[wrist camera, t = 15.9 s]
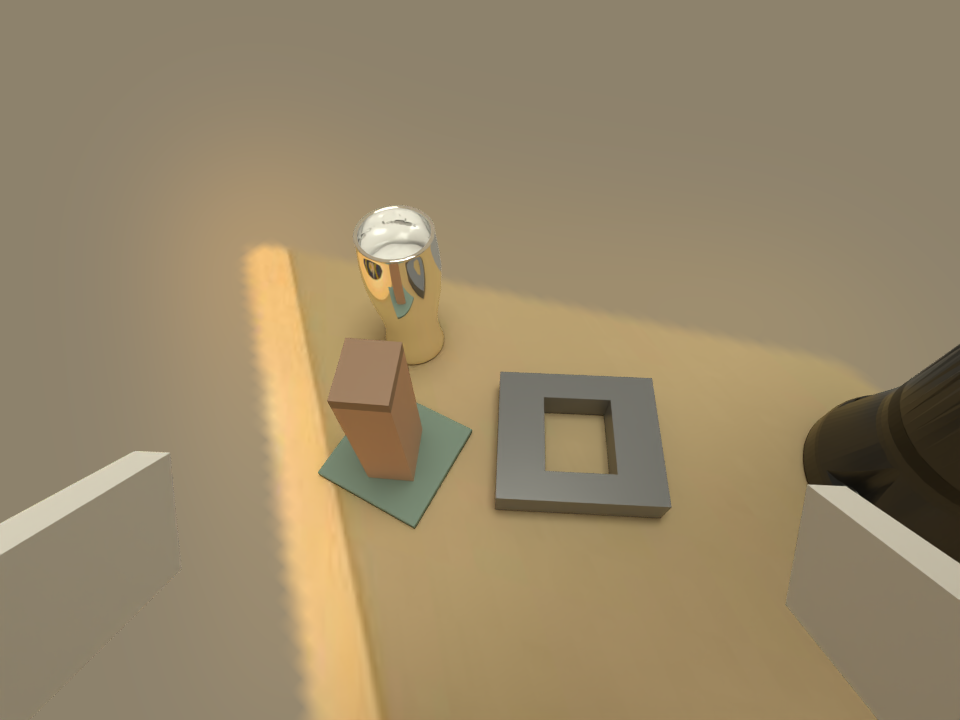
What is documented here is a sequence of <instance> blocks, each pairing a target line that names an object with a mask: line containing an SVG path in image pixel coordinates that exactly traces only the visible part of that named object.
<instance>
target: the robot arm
mask: <svg viewBox="0 0 960 720" xmlns="http://www.w3.org/2000/svg"><path fill="white" fill-rule="evenodd" d="M804 467H805V472H806V476H807V480H808V482H809V485H808V484H807V489H806V494H805V500H804V505H803V511H802V516H801V522H800V527H799V533H798V538H797V544H796V549H795V555H794V560H793V566H792V571H791V577H790V582H789V588H788V593H787V599H786V604H785V605H786V606H787V607H788V608H789V610H790V611H791V612H792V613H793V615H794V616H795V617H796V618H797V620H798V621H799V622H800V623H801V625H802V626H803V627H804V628H805V630H806V631H807V632H808V633H809V635H810V636H811V637H812V638H813V639H814V641H815V642H816V643H817V644H818V646H819V647H820V648H821V649H822V651H823V652H824V653H825V654H826V656H827V657H828V658H829V659H830V661H831V662H832V663H833V664H834V666H835V667H836V668H837V669H838V671H839V672H840V673H841V674H842V676H843V677H844V678H845V679H846V680H847V682H848V683H849V684H850V685H851V687H852V688H853V689H854V690H855V692H856V693H857V694H858V695H859V697H860V698H861V699H862V700H863V702H864V703H865V704H866V705H867V707H868V708H869V709H870V710H871V712H872V713H873V714H874V715H875V717H876V718H877V719H878V720H960V344H959V345H958V346H956V347H955V348H953V349H952V350H951V351H949V352H948V353H946V354H945V355H944V356H942V357H941V358H939V359H938V360H937V361H935V362H934V363H932V364H931V365H930V366H928V367H927V368H925V369H924V370H922V371H921V372H920V373H918V374H917V375H915V376H914V377H913V378H911V379H910V380H909V381H907V382H906V383H904V384H903V385H902V386H900V387H897V388H894V389H891V390H888V391H884V392H881V393H878V394H875V395H869V396H862V397H858V398H854V399H851V400H848V401H846V402H844V403H842V404H840V405H838V406H836V407H835V408H833V409H832V410H831V411H830V412H828V413H827V414H826V415H825V416H823V417H822V418H821V419H820V420H819V421H818V422H817V423H816V424H815V425H814V426H813V427H812V429H811V430H810V432H809V434H808V436H807V439H806V442H805V447H804ZM181 570H182V569H181V559H180V548H179V538H178V528H177V519H176V508H175V498H174V487H173V477H172V467H171V457H170V453H165V452H145V451H134V452H132V453H130V454H128V455H126V456H124V457H123V458H121V459H119V460H117V461H115V462H113V463H112V464H110V465H108V466H106V467H104V468H102V469H100V470H98V471H97V472H95V473H93V474H91V475H89V476H87V477H86V478H84V479H82V480H80V481H78V482H76V483H74V484H73V485H71V486H69V487H67V488H65V489H63V490H61V491H59V492H58V493H56V494H54V495H52V496H50V497H48V498H46V499H45V500H43V501H41V502H39V503H37V504H35V505H33V506H32V507H30V508H28V509H26V510H24V511H23V512H21V513H19V514H17V515H15V516H13V517H11V518H9V519H8V520H6V521H4V522H2V523H0V720H30V719H31V718H32V717H33V716H34V715H35V714H36V713H37V712H38V711H39V710H40V709H41V708H42V707H43V706H44V705H45V704H46V703H47V702H48V701H49V700H50V699H51V698H52V697H53V696H54V695H55V694H56V693H57V692H58V691H59V690H60V689H61V688H62V687H63V686H64V685H65V684H66V683H67V682H68V681H69V680H70V679H71V678H72V677H73V676H74V675H76V674H77V673H78V672H79V671H80V670H81V669H82V668H83V667H84V666H85V665H86V664H87V663H88V662H89V661H90V660H91V659H92V657H94V656H95V654H97V653H98V652H99V651H100V650H101V649H102V648H103V647H104V646H105V645H106V644H107V643H108V642H109V641H110V640H111V639H112V638H113V637H114V636H115V635H116V634H117V633H118V632H119V631H120V630H121V629H122V628H123V627H124V626H125V625H126V624H127V623H128V622H129V621H130V620H131V619H132V618H133V617H134V616H135V615H136V614H137V613H138V612H139V611H140V610H141V609H142V608H143V607H144V606H145V605H146V604H147V603H148V602H149V601H150V600H151V599H152V598H153V597H154V596H155V595H156V594H158V593H159V591H160V590H162V588H163V587H165V586H166V585H167V584H168V583H169V582H170V581H171V580H172V579H173V578H174V577H175V576H176V574H178V573H179V572H180V571H181Z"/></svg>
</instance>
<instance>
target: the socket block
mask: <svg viewBox="0 0 960 720" xmlns="http://www.w3.org/2000/svg"><path fill="white" fill-rule="evenodd" d="M544 413H566V414H588V415H604V420H605V432H606V443H607V454H608V466H609V474H594V473H574V472H554V471H545V435H544ZM670 508H671V501H670V494H669V488H668V481H667V475H666V468H665V461H664V455H663V448H662V442H661V435H660V428H659V422H658V415H657V409H656V402H655V395H654V389H653V382H652V378H634V377H611V376H587V375H564V374H541V373H518V372H501V374H500V395H499V421H498V447H497V473H496V499H495V509H498V510H517V511H536V512H555V513H574V514H593V515H612V516H631V517H650V518H661V517H662V516H663V515H664V514H665V513H666V512H667V511H668V510H669V509H670Z"/></svg>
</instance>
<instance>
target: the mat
mask: <svg viewBox="0 0 960 720" xmlns="http://www.w3.org/2000/svg"><path fill="white" fill-rule="evenodd" d="M416 404H417V408H418V412H419V417H420V421H421V425H422V435H421V441H420V447H419V453H418V459H417V465H416V471H415V477H414V481H405V480H394V479H382V478H370V477H368V475H367V474H366V472H365V470H364V468H363V466H362V464H361V462H360V461H359V459H358V457H357V455H356V453H355V451H354V449H353V448H352V446H351V444H350V442H349V440H348V438H347V436H346V435H345V436H344V438H343V439H342V440H341V442H340V443H339V444H338V446H337V447H336V449H335V450H334V451H333V453H332V454H331V455H330V457H329V458H328V459H327V461H326V462H325V463H324V465H323V466H322V468H321V469H320V470H319V472H318V473H319V475H321V476H322V477H324V478H326V479H328V480H330V481H331V482H333V483H335V484H337V485H338V486H340V487H342V488H344V489H345V490H347V491H349V492H351V493H353V494H354V495H356V496H358V497H360V498H361V499H363V500H365V501H367V502H369V503H370V504H372V505H374V506H376V507H377V508H379V509H381V510H383V511H384V512H386V513H388V514H390V515H392V516H393V517H395V518H397V519H399V520H400V521H402V522H404V523H406V524H408V525H409V526H411V527H413V528H416V526H417V524H418V523H419V521H420V519H421V518H422V516H423V514H424V513H425V511H426V509H427V508H428V506H429V504H430V502H431V501H432V499H433V497H434V496H435V494H436V492H437V491H438V489H439V487H440V486H441V484H442V482H443V481H444V479H445V477H446V475H447V474H448V472H449V470H450V469H451V467H452V465H453V464H454V462H455V460H456V459H457V457H458V455H459V453H460V452H461V450H462V448H463V447H464V445H465V443H466V442H467V440H468V438H469V437H470V435H471V433H472V429H470V428H468V427H466V426H464V425H462V424H460V423H457V422H455V421H453V420H451V419H449V418H447V417H445V416H443V415H441V414H439V413H437V412H435V411H433V410H431V409H429V408H427V407H425V406H423V405H421V404H418V403H416Z"/></svg>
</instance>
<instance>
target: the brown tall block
mask: <svg viewBox="0 0 960 720" xmlns="http://www.w3.org/2000/svg"><path fill="white" fill-rule="evenodd" d="M327 401H328V403H329V405H330V407H331V409H332V411H333V412H334V414H335V416H336V418H337V420H338V422H339V424H340V425H341V427H342V429H343V431H344V433H345V435H346V436H347V438H348V440H349V442H350V444H351V446H352V448H353V449H354V451H355V453H356V455H357V457H358V459H359V461H360V462H361V464H362V466H363V468H364V470H365V472H366V474H367V475H368V477H370V478H382V479H394V480H405V481H414V477H415V471H416V465H417V459H418V453H419V447H420V441H421V435H422V425H421V421H420V417H419V412H418V408H417V404H416V399H415V395H414V391H413V387H412V382H411V378H410V374H409V370H408V365H407V361H406V357H405V352H404V348H403V344H402V342H395V341H381V340H367V339H353V338H345V341H344V345H343V348H342V352H341V355H340V359H339V362H338V366H337V369H336V372H335V376H334V379H333V383H332V386H331V390H330V393H329V397H328V400H327Z"/></svg>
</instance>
